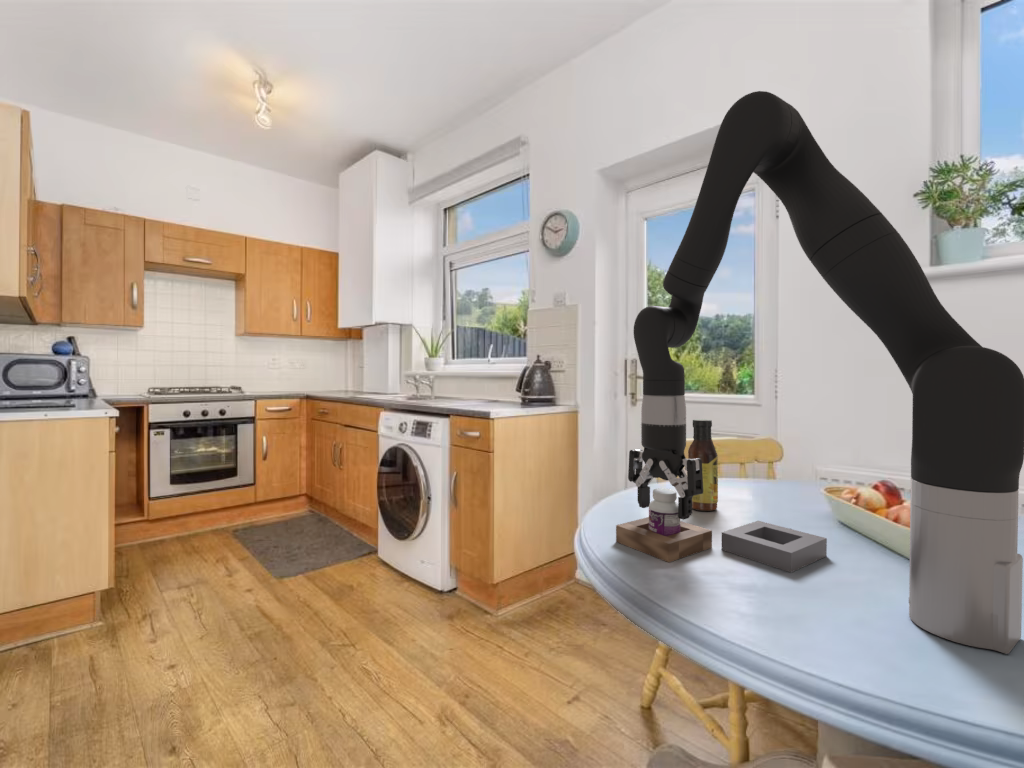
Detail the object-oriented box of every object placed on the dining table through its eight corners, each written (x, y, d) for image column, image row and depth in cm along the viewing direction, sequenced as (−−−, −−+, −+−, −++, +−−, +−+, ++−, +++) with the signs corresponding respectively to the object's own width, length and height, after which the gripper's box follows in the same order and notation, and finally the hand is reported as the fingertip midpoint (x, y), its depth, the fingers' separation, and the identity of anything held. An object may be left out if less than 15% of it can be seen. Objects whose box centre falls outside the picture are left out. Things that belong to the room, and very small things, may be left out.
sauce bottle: (720, 513, 104) (721, 421, 104) (690, 511, 105) (690, 421, 105) (714, 504, 110) (714, 418, 110) (685, 503, 112) (685, 418, 111)
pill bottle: (642, 541, 87) (642, 488, 86) (667, 538, 88) (667, 486, 88) (660, 552, 81) (660, 495, 81) (686, 548, 83) (687, 493, 83)
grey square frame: (826, 556, 79) (826, 538, 79) (791, 572, 73) (791, 552, 73) (758, 536, 89) (758, 520, 89) (721, 549, 82) (721, 532, 82)
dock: (711, 547, 83) (712, 530, 83) (668, 562, 77) (669, 543, 77) (658, 529, 93) (658, 514, 93) (616, 541, 87) (616, 525, 86)
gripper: (712, 422, 81) (712, 518, 81) (646, 416, 93) (645, 500, 93) (684, 425, 77) (684, 527, 77) (618, 419, 88) (618, 506, 89)
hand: (663, 512), depth 85 cm, fingers open, 8 cm apart
